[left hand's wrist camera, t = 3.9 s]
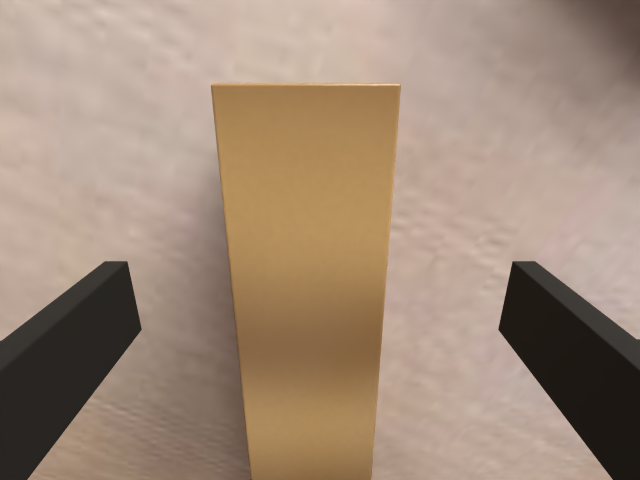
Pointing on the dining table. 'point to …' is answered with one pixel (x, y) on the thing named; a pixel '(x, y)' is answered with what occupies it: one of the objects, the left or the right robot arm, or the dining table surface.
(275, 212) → the bar
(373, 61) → the dining table surface
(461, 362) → the dining table surface
